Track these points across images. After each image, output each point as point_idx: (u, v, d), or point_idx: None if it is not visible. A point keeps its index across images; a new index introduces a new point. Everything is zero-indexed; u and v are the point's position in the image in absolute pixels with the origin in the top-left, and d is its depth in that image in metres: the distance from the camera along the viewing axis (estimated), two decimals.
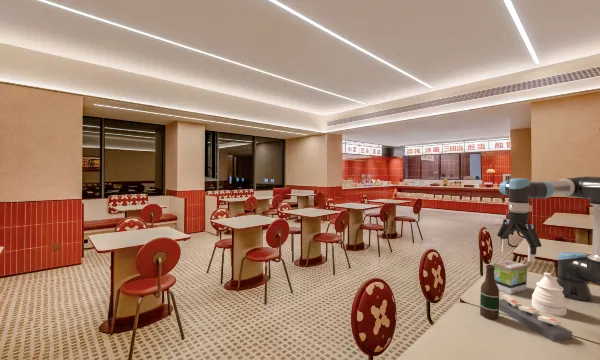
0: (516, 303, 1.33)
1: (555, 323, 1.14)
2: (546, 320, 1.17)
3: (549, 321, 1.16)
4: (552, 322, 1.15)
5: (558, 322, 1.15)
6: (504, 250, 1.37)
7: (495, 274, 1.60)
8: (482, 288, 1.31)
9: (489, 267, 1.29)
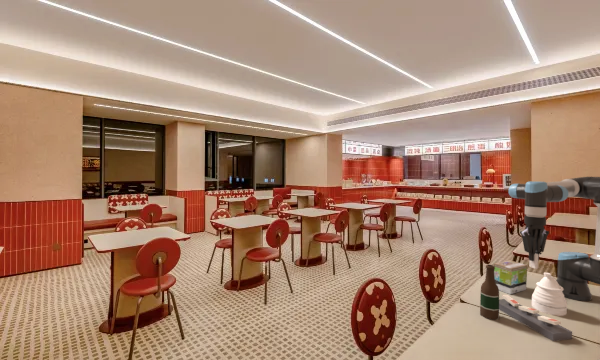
0: (516, 303, 1.33)
1: (555, 323, 1.14)
2: (546, 320, 1.17)
3: (549, 321, 1.16)
4: (552, 322, 1.15)
5: (558, 322, 1.15)
6: None
7: (495, 274, 1.60)
8: (482, 288, 1.31)
9: (489, 267, 1.29)
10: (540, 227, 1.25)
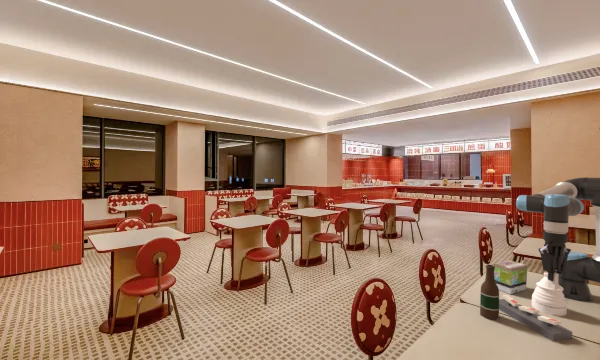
0: (516, 303, 1.33)
1: (555, 323, 1.14)
2: (546, 320, 1.17)
3: (549, 321, 1.16)
4: (552, 322, 1.15)
5: (558, 322, 1.15)
6: None
7: (495, 274, 1.60)
8: (482, 288, 1.31)
9: (489, 267, 1.29)
10: (561, 244, 1.14)
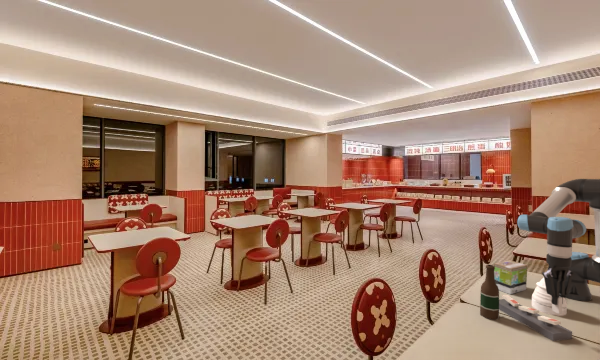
0: (516, 303, 1.33)
1: (555, 323, 1.14)
2: (546, 320, 1.17)
3: (549, 321, 1.16)
4: (552, 322, 1.15)
5: (558, 322, 1.15)
6: None
7: (495, 274, 1.60)
8: (482, 288, 1.31)
9: (489, 267, 1.29)
10: (564, 268, 1.13)
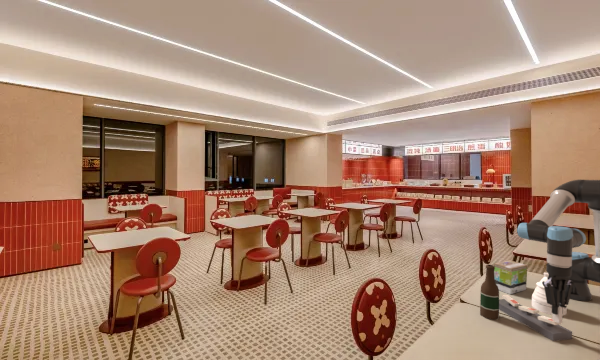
0: (516, 303, 1.33)
1: (555, 323, 1.14)
2: (546, 320, 1.17)
3: (549, 321, 1.16)
4: (552, 322, 1.15)
5: None
6: None
7: (495, 274, 1.60)
8: (482, 288, 1.31)
9: (489, 267, 1.29)
10: (564, 277, 1.13)
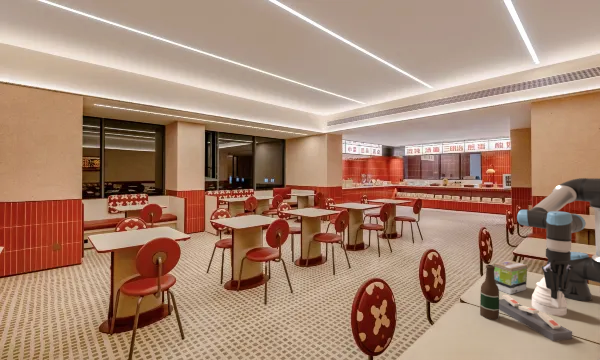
0: (516, 303, 1.33)
1: (554, 327, 1.15)
2: (546, 320, 1.17)
3: (549, 323, 1.16)
4: (552, 326, 1.15)
5: (558, 327, 1.15)
6: None
7: (495, 274, 1.60)
8: (482, 288, 1.31)
9: (489, 267, 1.29)
10: (564, 262, 1.14)
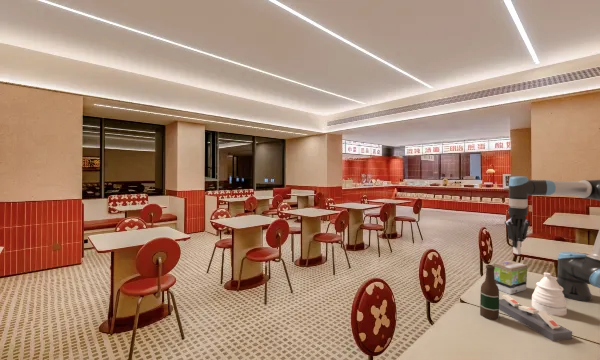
0: (516, 303, 1.33)
1: (554, 328, 1.15)
2: (546, 321, 1.17)
3: (549, 323, 1.16)
4: (551, 326, 1.15)
5: (557, 327, 1.15)
6: None
7: (495, 274, 1.60)
8: (482, 288, 1.31)
9: (489, 267, 1.29)
10: (522, 217, 1.39)
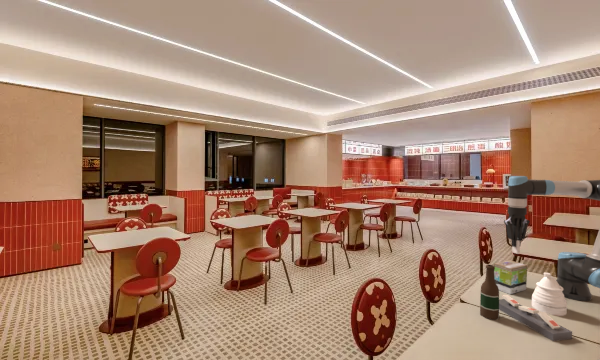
0: (516, 303, 1.33)
1: (554, 328, 1.15)
2: (546, 320, 1.17)
3: (549, 323, 1.16)
4: (551, 326, 1.15)
5: (557, 327, 1.15)
6: None
7: (495, 274, 1.60)
8: (482, 288, 1.31)
9: (489, 267, 1.29)
10: (521, 217, 1.40)
